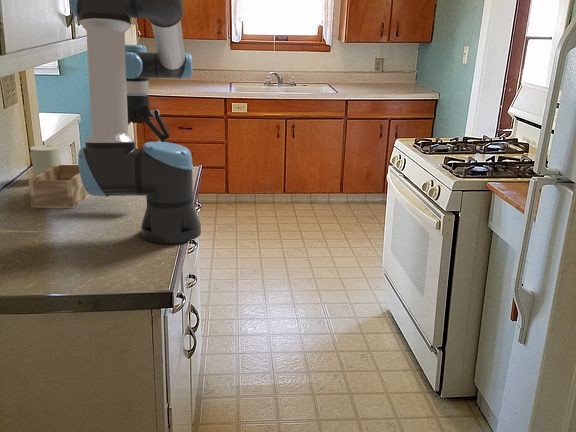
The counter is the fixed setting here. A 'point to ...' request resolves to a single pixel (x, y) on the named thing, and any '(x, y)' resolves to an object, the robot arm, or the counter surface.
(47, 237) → the counter surface
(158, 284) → the counter surface
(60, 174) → the light wood open box
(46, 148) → the can
